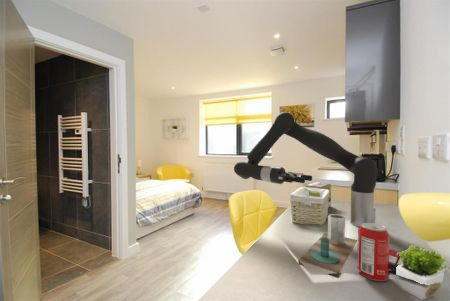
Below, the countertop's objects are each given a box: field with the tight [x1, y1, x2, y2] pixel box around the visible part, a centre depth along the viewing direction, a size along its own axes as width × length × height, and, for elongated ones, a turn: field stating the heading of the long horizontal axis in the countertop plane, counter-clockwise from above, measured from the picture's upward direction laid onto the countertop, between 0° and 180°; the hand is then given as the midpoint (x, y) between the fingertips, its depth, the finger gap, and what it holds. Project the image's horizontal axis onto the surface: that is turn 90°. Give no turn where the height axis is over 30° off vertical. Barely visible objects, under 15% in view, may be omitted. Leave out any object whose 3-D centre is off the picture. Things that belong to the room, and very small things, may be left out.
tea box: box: [304, 181, 332, 208], centre depth 141 cm, size 15×10×15 cm
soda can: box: [357, 222, 391, 282], centre depth 67 cm, size 8×8×15 cm
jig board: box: [298, 231, 358, 279], centre depth 81 cm, size 30×12×8 cm, turn 140°
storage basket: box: [289, 186, 329, 226], centre depth 119 cm, size 24×16×15 cm
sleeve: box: [327, 213, 346, 245], centre depth 87 cm, size 6×6×10 cm
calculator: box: [389, 248, 402, 276], centre depth 73 cm, size 11×4×15 cm
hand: (308, 179), depth 93 cm, fingers open, 8 cm apart
